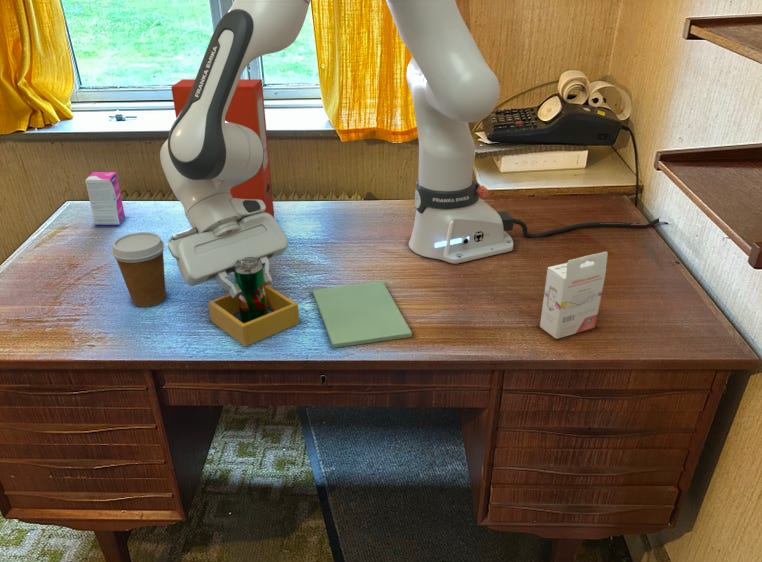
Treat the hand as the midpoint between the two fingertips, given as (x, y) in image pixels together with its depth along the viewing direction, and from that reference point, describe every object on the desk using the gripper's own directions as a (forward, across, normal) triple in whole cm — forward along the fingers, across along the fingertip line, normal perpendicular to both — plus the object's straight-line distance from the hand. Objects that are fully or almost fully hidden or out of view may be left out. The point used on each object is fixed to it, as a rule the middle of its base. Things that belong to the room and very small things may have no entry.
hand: (253, 289), depth 118 cm
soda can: (+5, 0, +5) cm, 7 cm away
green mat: (+12, +16, -2) cm, 20 cm away
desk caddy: (+4, 0, +5) cm, 7 cm away
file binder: (-24, +20, +34) cm, 46 cm away
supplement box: (-40, 0, +50) cm, 64 cm away
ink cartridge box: (+32, +40, -22) cm, 55 cm away
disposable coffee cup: (-10, -11, +20) cm, 25 cm away
